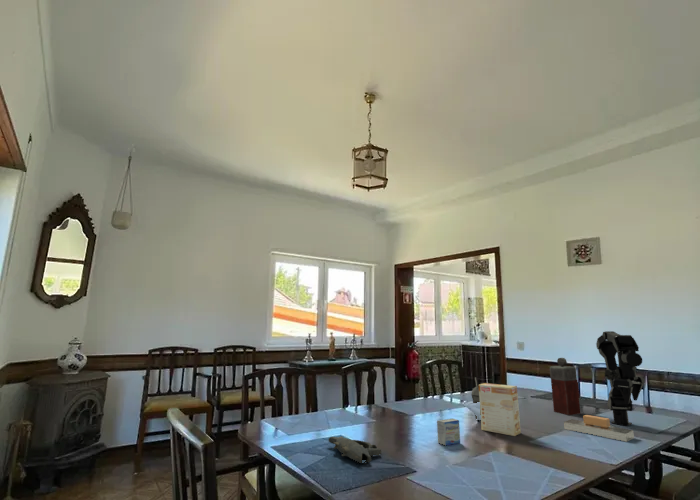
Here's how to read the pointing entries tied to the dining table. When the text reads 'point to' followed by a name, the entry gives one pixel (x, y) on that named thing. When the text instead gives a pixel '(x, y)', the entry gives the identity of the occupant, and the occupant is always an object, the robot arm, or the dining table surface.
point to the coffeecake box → (499, 409)
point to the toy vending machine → (565, 388)
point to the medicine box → (448, 431)
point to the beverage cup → (475, 395)
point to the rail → (599, 430)
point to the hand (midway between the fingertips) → (631, 401)
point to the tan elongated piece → (355, 448)
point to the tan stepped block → (596, 421)
